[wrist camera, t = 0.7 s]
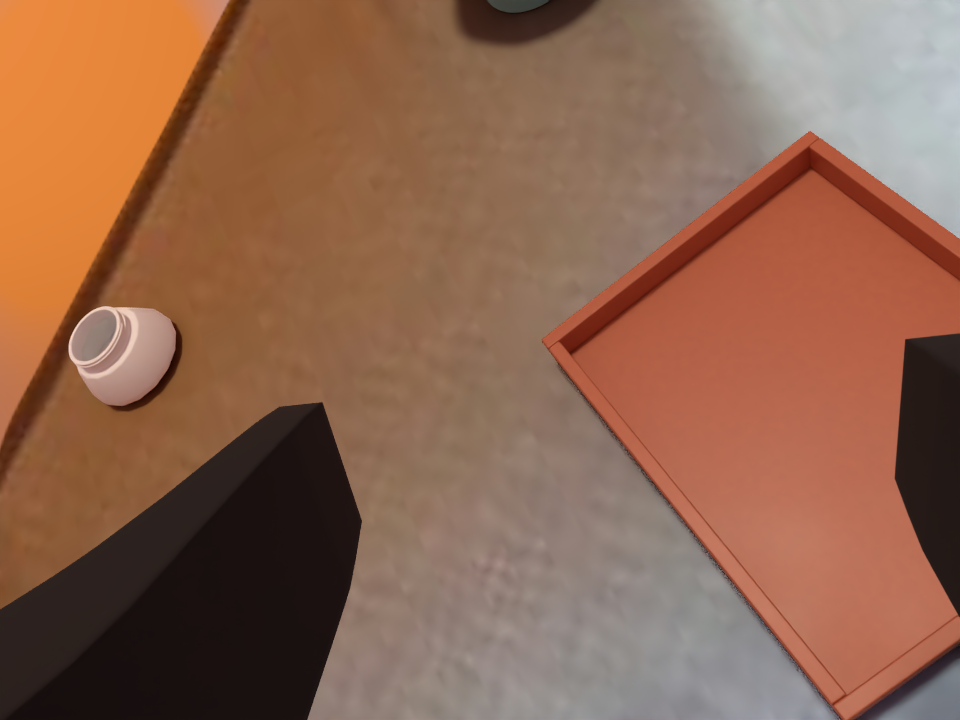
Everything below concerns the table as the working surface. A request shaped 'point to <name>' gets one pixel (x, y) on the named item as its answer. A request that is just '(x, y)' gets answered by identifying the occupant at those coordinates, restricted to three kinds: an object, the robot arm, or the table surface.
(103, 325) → the lidless jar
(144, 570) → the robot arm
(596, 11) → the table surface
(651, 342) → the red tray
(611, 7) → the table surface
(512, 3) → the cupcake
